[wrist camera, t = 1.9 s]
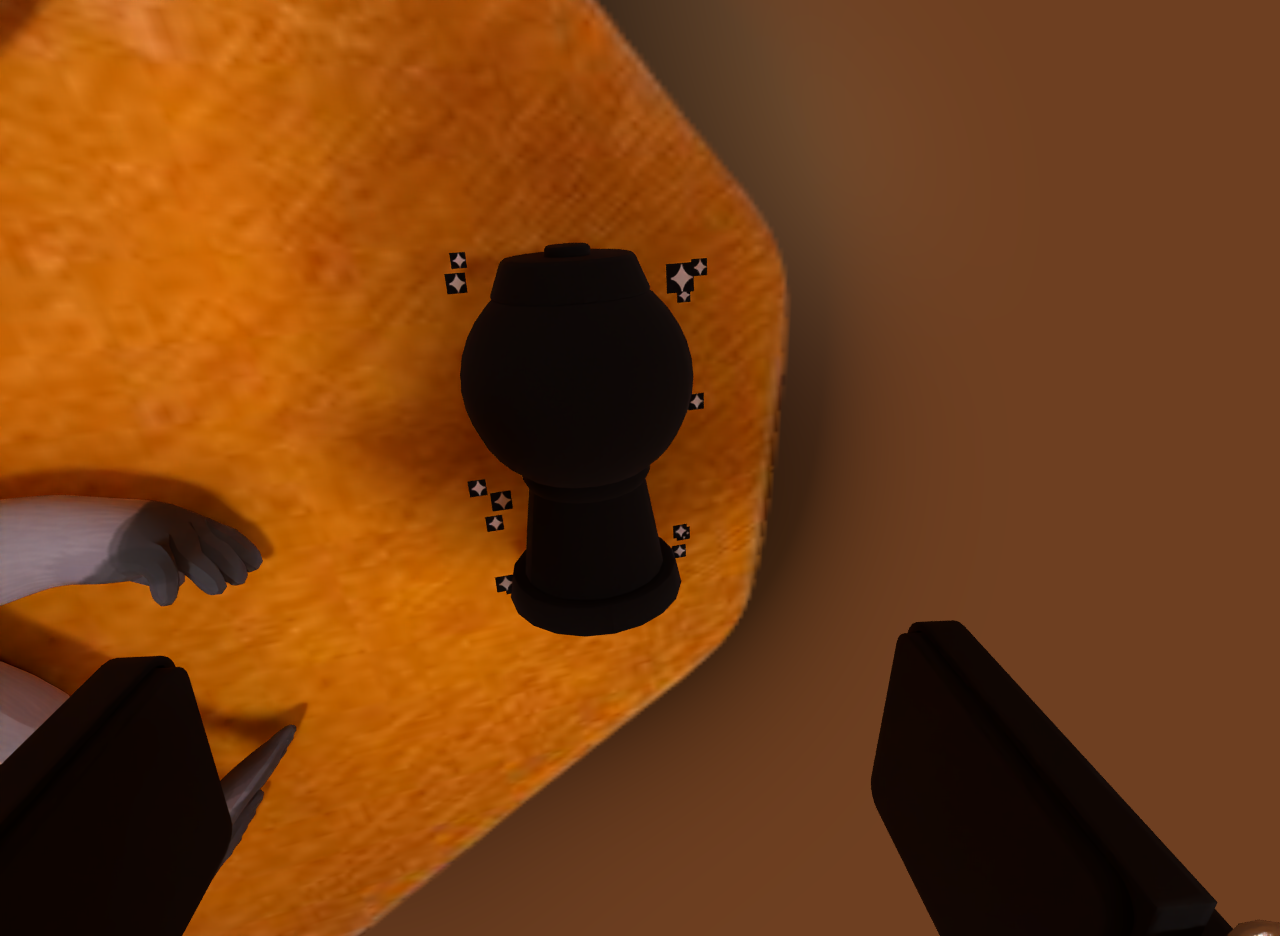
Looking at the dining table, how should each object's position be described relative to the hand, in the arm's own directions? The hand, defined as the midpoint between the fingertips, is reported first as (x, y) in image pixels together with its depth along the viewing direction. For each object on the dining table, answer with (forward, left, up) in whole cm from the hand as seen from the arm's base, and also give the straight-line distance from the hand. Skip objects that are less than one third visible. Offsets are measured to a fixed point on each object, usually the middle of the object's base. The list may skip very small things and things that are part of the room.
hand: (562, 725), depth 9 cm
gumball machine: (+5, +1, -10) cm, 11 cm away
